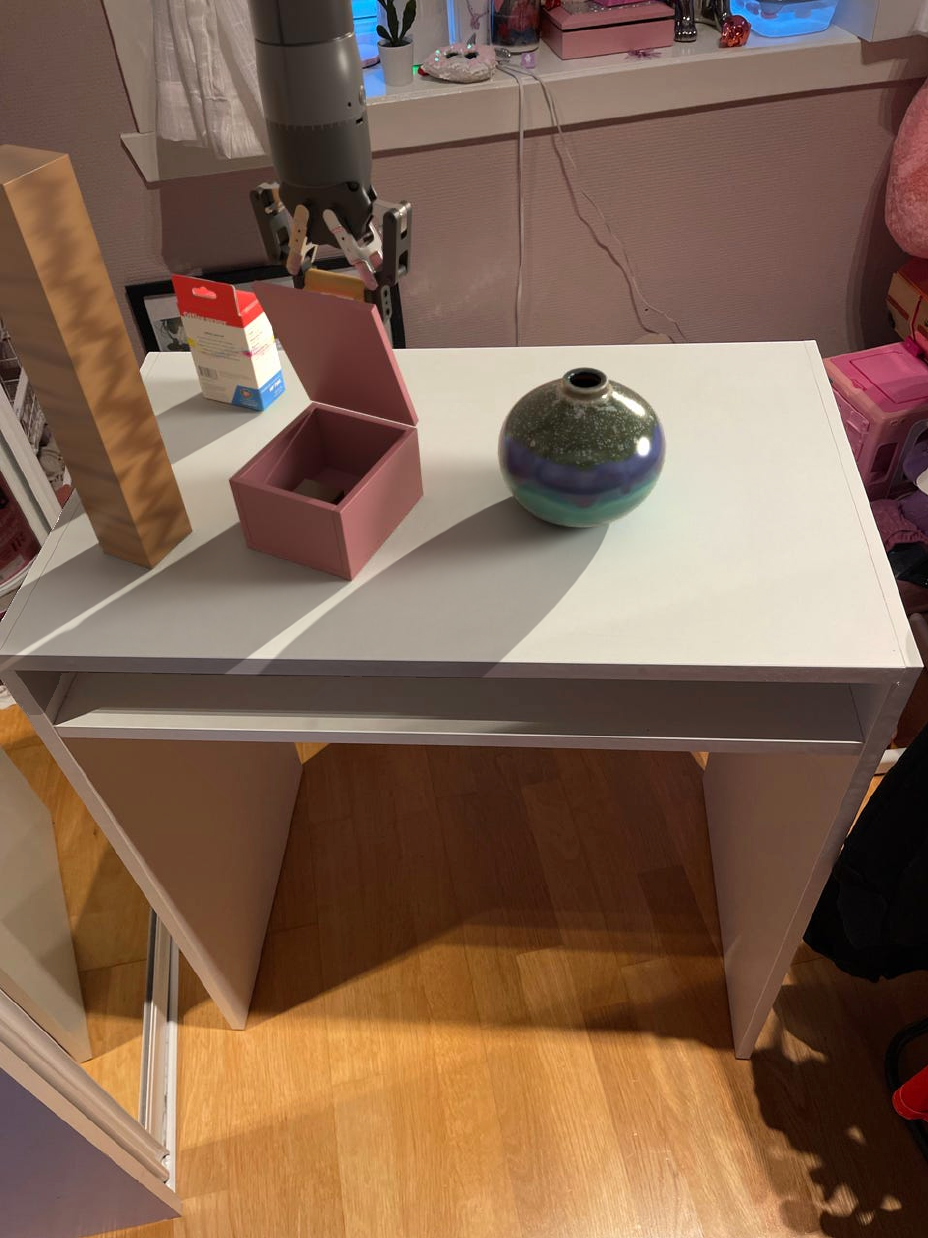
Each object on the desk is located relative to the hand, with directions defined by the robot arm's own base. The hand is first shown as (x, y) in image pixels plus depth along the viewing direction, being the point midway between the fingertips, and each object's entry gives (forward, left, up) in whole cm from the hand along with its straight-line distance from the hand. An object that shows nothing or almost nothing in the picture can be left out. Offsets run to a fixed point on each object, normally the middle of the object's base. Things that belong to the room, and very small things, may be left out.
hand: (345, 318), depth 78 cm
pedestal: (-16, +15, -18) cm, 28 cm away
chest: (-6, 0, -18) cm, 19 cm away
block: (-9, 0, -17) cm, 19 cm away
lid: (-2, 0, -3) cm, 4 cm away
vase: (+6, -20, -18) cm, 28 cm away
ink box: (+9, +22, -18) cm, 30 cm away
